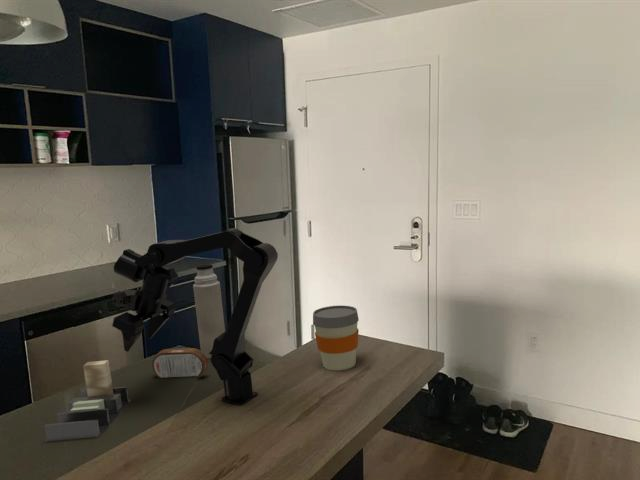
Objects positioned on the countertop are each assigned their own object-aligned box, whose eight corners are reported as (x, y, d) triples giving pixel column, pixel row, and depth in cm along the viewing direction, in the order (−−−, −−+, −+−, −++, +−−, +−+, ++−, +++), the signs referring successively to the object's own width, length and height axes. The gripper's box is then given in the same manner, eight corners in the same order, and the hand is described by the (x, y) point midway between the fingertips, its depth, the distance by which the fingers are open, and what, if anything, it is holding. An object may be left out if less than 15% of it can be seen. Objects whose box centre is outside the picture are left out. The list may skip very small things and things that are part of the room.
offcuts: (105, 415, 115) (103, 397, 115) (99, 423, 112) (96, 404, 111) (80, 417, 115) (77, 399, 115) (72, 425, 112) (69, 407, 111)
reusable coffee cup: (320, 356, 144) (315, 306, 143) (363, 355, 143) (359, 304, 141) (313, 373, 132) (308, 319, 130) (360, 372, 130) (356, 317, 128)
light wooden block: (114, 403, 122) (108, 360, 120) (110, 407, 119) (104, 363, 118) (94, 405, 122) (87, 361, 120) (89, 409, 119) (83, 365, 118)
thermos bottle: (212, 348, 160) (202, 262, 156) (232, 350, 156) (222, 262, 153) (196, 357, 153) (185, 267, 149) (217, 359, 149) (206, 267, 146)
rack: (131, 403, 123) (128, 386, 122) (101, 440, 106) (98, 420, 105) (82, 407, 123) (80, 390, 122) (45, 445, 105) (41, 425, 105)
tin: (209, 375, 137) (206, 346, 136) (205, 380, 134) (202, 350, 133) (157, 377, 139) (153, 348, 138) (152, 382, 136) (148, 352, 135)
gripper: (147, 269, 133) (133, 320, 136) (100, 285, 115) (85, 344, 119) (183, 285, 131) (167, 337, 134) (141, 304, 113) (125, 363, 117)
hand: (137, 344), depth 126 cm, fingers open, 9 cm apart
